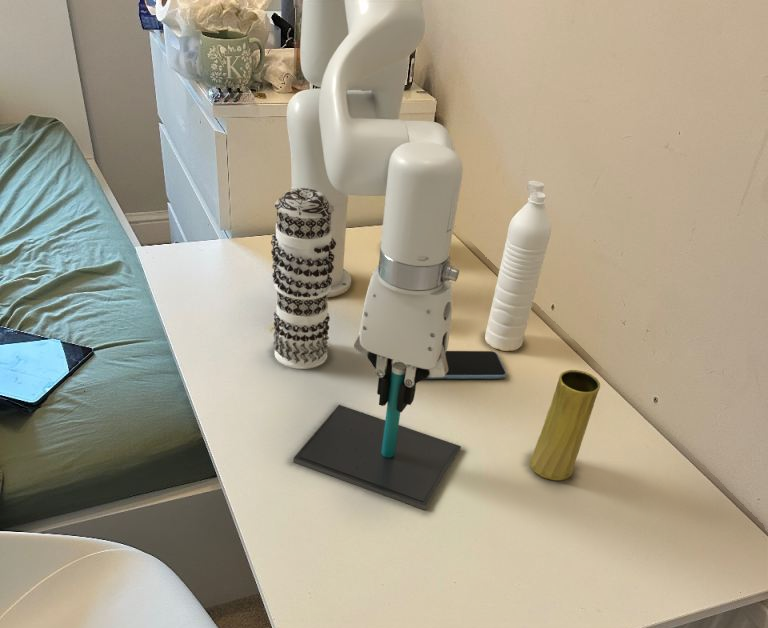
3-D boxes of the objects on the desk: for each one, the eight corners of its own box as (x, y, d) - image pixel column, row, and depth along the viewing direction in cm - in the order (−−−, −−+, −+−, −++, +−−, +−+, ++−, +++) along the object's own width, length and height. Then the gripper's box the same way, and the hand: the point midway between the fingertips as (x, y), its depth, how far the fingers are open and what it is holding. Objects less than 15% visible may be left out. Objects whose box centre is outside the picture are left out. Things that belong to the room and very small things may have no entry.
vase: (525, 452, 105) (551, 366, 95) (566, 453, 105) (596, 368, 95) (534, 480, 100) (562, 394, 90) (577, 481, 101) (610, 396, 91)
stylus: (379, 455, 99) (390, 366, 90) (384, 447, 101) (395, 360, 91) (391, 459, 99) (403, 371, 89) (396, 452, 100) (409, 364, 91)
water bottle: (523, 354, 124) (562, 204, 107) (484, 349, 124) (518, 198, 107) (519, 327, 130) (556, 182, 113) (483, 323, 130) (514, 177, 113)
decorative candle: (321, 336, 122) (328, 181, 104) (336, 367, 115) (346, 207, 98) (266, 340, 119) (264, 182, 102) (278, 372, 113) (278, 209, 96)
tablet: (293, 462, 98) (293, 457, 97) (338, 408, 108) (339, 403, 107) (425, 510, 94) (426, 505, 93) (460, 449, 103) (461, 445, 103)
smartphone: (508, 375, 117) (416, 375, 114) (507, 379, 118) (415, 379, 115) (496, 349, 122) (408, 349, 119) (495, 354, 123) (407, 353, 120)
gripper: (490, 273, 82) (461, 407, 95) (362, 236, 86) (351, 371, 98) (468, 300, 77) (441, 438, 90) (333, 260, 81) (326, 399, 93)
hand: (394, 402), depth 94 cm, fingers closed on stylus, 1 cm apart
